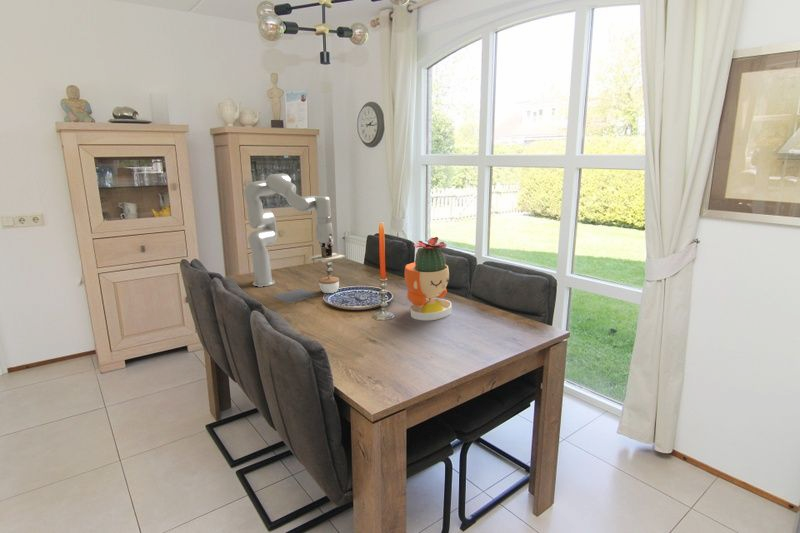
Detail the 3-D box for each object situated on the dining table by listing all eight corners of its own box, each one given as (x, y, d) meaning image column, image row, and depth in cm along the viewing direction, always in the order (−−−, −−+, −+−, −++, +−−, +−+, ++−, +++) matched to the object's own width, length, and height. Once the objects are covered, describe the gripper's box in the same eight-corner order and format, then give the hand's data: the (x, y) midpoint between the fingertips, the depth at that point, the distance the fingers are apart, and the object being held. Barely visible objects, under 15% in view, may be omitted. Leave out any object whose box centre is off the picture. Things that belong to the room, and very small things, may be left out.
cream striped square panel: (271, 296, 244) (271, 295, 244) (301, 289, 255) (301, 288, 255) (288, 304, 231) (288, 303, 230) (318, 295, 242) (318, 295, 242)
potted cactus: (460, 309, 214) (459, 236, 205) (429, 324, 198) (428, 245, 189) (424, 300, 228) (423, 231, 219) (393, 313, 212) (390, 239, 204)
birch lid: (307, 258, 242) (306, 247, 241) (331, 253, 252) (330, 243, 250) (322, 263, 231) (321, 251, 230) (346, 257, 241) (346, 246, 239)
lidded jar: (341, 289, 251) (340, 273, 249) (337, 296, 241) (336, 278, 238) (322, 289, 252) (321, 273, 250) (317, 296, 242) (316, 279, 240)
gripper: (309, 220, 240) (312, 253, 245) (326, 223, 228) (329, 258, 233) (321, 218, 245) (324, 251, 250) (339, 221, 233) (341, 256, 237)
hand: (326, 254), depth 241 cm, fingers closed on birch lid, 4 cm apart
